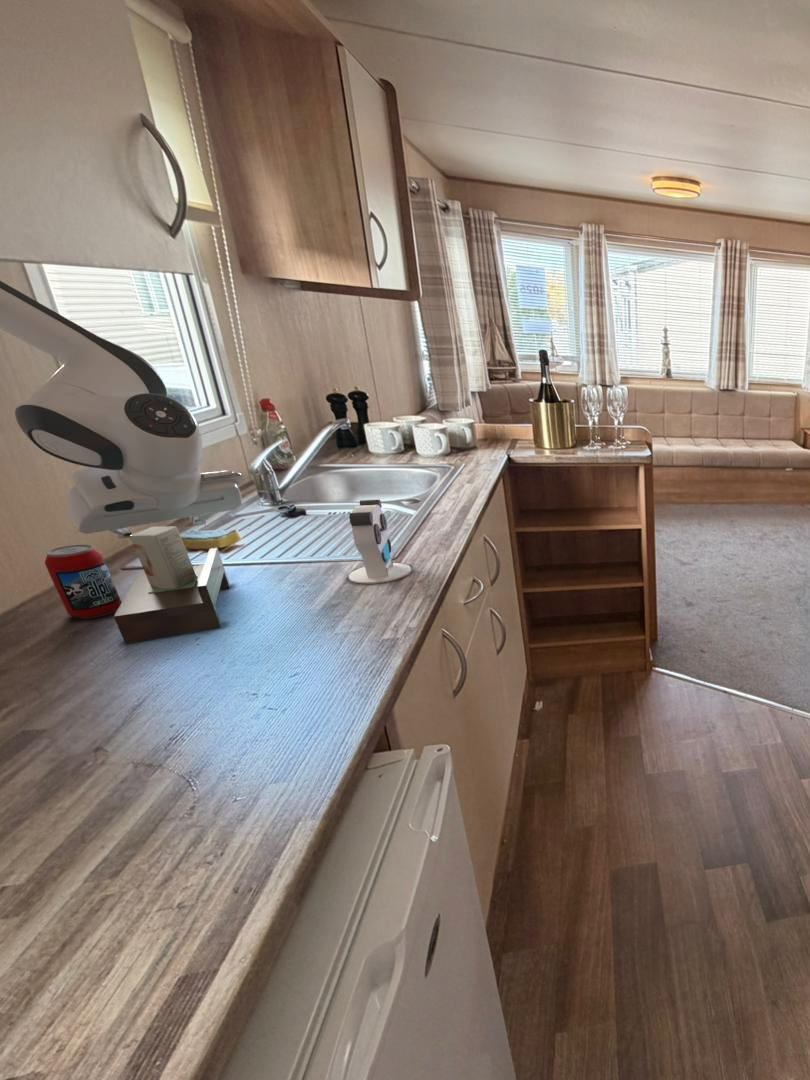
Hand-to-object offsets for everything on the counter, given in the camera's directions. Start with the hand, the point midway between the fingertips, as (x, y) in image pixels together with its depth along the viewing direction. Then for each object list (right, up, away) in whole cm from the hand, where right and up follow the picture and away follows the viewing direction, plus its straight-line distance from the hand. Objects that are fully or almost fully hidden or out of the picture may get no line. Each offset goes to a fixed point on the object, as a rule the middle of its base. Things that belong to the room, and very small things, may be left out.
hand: (161, 528), depth 107 cm
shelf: (-5, -14, +9) cm, 18 cm away
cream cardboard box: (-5, -9, +8) cm, 13 cm away
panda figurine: (+18, -7, +29) cm, 35 cm away
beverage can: (-19, -15, +7) cm, 25 cm away
